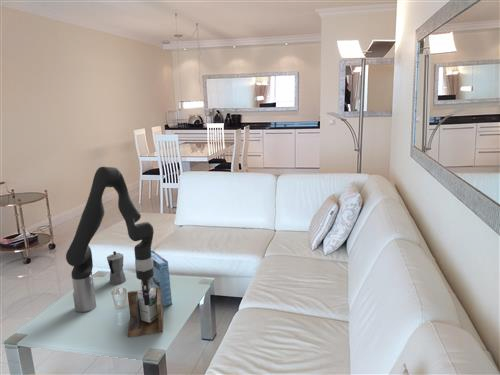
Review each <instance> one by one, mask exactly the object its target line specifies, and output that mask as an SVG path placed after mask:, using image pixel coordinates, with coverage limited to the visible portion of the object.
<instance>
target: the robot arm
mask: <svg viewBox="0 0 500 375" xmlns="http://www.w3.org/2000/svg"><path fill="white" fill-rule="evenodd" d="M106 188H113V189H114V190H115V191H116V193H117V196H118V203H117V206H118V210H119V212H120V215H121V216H122V218H123V219H124V221H125V224H126V228H127V229H126V230H127V235H128V237H129V239H130V240H132V241H133V242H138V241H140V242H139V243H138V244H136V245H134V258H135V260H134V261H135V262H134V263H135V264H134V265H135V273H136V274H135V276H136V278H137V279H138V280H140V281H141V282H140V286H141V289H142V293H143V299H144V304H145V306H146V305H150V301H149V297H150V295H149V292H150V285H151V283H150V282H151V280H150V278H152V277H153V276H154V270H153V260H152V255H151V251H152V245H153V244H152V243H153V238H154V227H153V225H152V223H150V222H149V221H144V222H141V223H137V222H138V221H140V220H141V216H142V215H141V213H140V211H139V209H138V208H137V206H136V204H135V203H134V201H133V198H132V196H131V194H130V190H129V187H128V185H127V183H126V180H125V177H124V175H123V173H122V171H121V170H120V169H119V168H118V167H111V166H100V167H98V169H96V171H95V173H94V175H93V180H92V184H91V188H90V191H89V194H88V198H87V201H86V203H85V206H84V209H83V211H82V214H81V217H80V220H79V223H78V225H77V228H76V231H75V234H74V237H73V240H72V242H71V244H70V245H69V246H68V249H67V251H66V252H65V261H66V263H67V264H68V265H70V266H72V267H73V268H72V270H71V274H70V275H71V280H72V288H73V293H72V296H73V303H74V309H75V310H74V311H75V312H77V313H78V312H79V313H87V312H90V311H93V310H94V309H95V308H96V307H97V299H96V293H95V287H94V285H95V284H94V279H93V277H94V276H93V267H94V266H93V265H94V264H93V262H94V261H93V254H92V249H91V246H90V245H89V244H90V242H91V240H92V239H93V237H94V236H95V234H96V233H97V232H98V230H99V228H100V226H101V223H103V222H102V221H103V218H104V216H105V207H104V203H103V195H104V192H105V190H106ZM146 293H147V295H145V294H146Z"/></svg>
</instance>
